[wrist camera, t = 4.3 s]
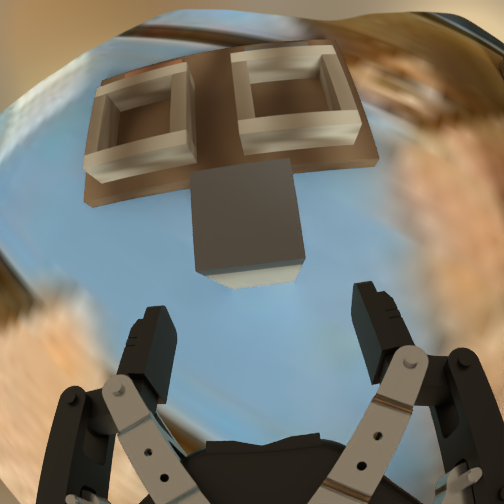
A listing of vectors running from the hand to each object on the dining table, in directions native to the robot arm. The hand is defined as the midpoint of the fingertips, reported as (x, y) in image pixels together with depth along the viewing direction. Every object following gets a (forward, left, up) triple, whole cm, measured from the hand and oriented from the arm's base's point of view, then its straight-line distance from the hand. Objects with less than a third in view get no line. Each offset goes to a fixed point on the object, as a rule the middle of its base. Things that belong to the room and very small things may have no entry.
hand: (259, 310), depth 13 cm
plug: (0, -4, -9) cm, 10 cm away
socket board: (+2, -17, -9) cm, 19 cm away
